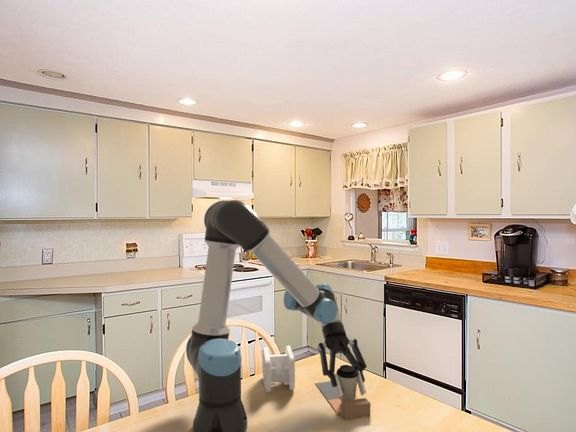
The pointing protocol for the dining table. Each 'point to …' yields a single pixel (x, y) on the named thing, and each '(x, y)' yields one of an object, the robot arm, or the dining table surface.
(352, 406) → the runner
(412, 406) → the dining table surface
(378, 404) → the dining table surface
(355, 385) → the coffee cup
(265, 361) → the cable organizer
